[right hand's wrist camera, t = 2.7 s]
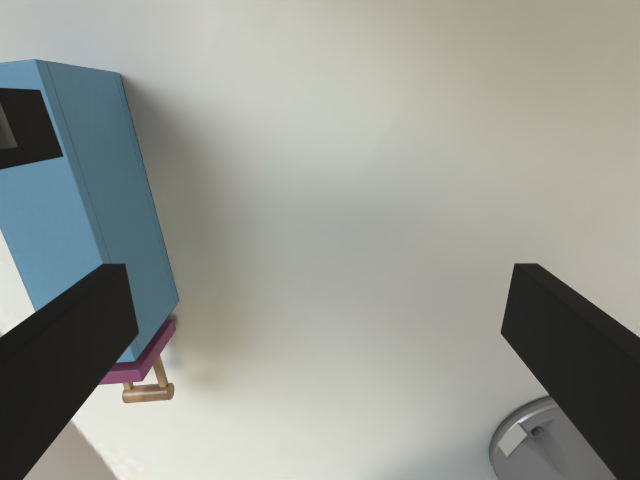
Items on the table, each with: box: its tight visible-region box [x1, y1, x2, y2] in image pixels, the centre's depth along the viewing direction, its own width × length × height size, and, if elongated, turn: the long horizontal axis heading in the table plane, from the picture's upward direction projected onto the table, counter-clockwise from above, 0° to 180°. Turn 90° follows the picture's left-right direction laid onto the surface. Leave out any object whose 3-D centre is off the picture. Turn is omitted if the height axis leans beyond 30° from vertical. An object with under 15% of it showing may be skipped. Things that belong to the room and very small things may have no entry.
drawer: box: [98, 320, 176, 403], centre depth 31 cm, size 25×5×8 cm, turn 6°
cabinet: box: [0, 59, 179, 363], centre depth 29 cm, size 21×6×9 cm, turn 6°
